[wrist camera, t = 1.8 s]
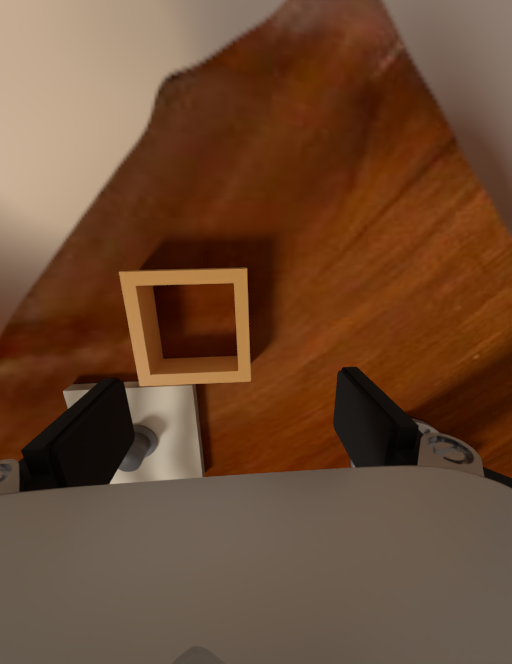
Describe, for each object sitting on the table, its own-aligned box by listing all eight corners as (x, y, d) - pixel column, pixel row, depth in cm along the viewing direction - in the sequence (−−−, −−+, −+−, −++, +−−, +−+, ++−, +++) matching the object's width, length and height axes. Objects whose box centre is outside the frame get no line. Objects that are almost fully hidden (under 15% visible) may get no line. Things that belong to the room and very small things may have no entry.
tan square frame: (246, 267, 25) (247, 268, 21) (249, 364, 28) (250, 381, 24) (138, 270, 24) (118, 271, 21) (154, 368, 28) (139, 386, 24)
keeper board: (194, 378, 28) (186, 400, 24) (204, 472, 32) (199, 505, 28) (72, 384, 28) (40, 407, 23) (98, 479, 32) (75, 513, 27)
